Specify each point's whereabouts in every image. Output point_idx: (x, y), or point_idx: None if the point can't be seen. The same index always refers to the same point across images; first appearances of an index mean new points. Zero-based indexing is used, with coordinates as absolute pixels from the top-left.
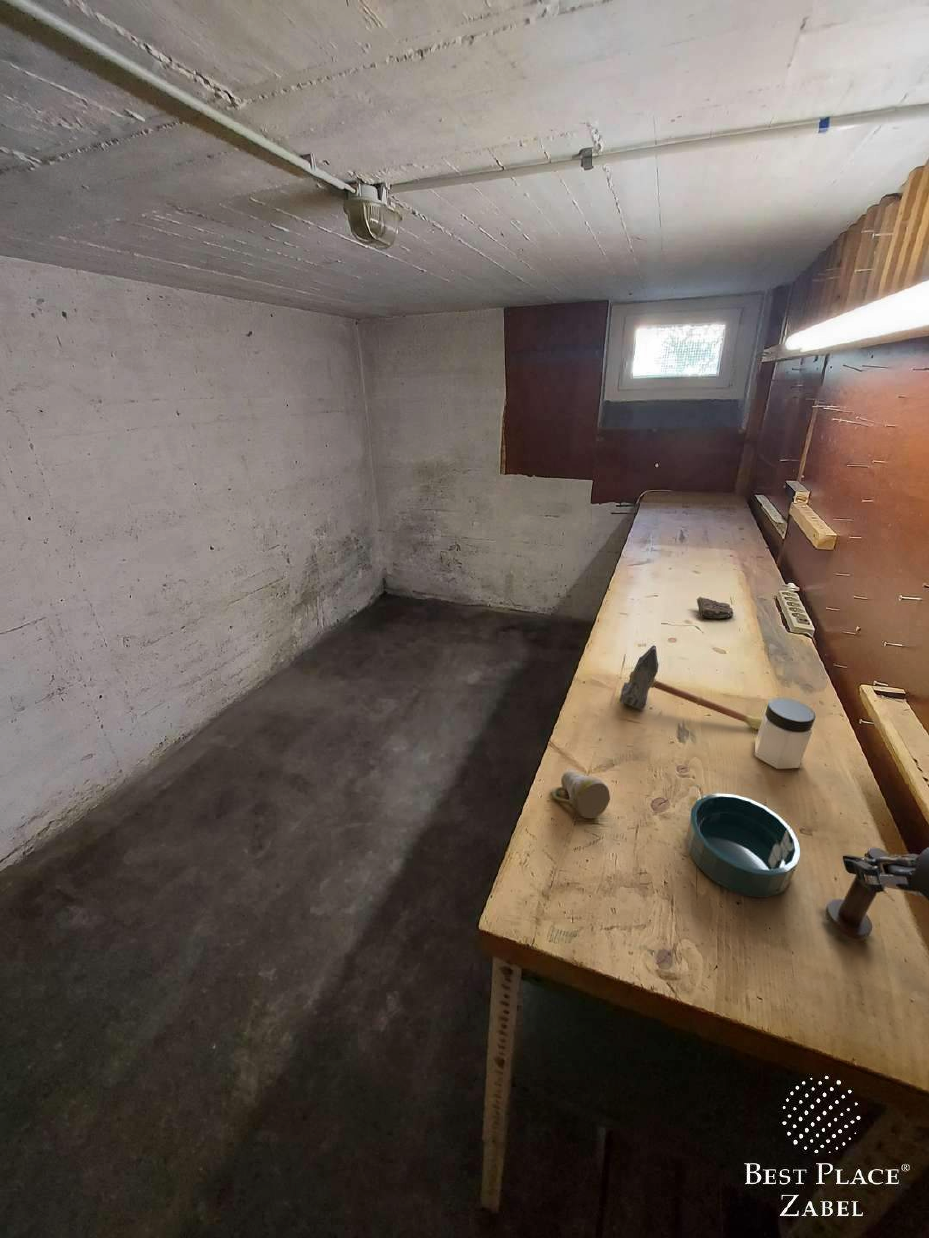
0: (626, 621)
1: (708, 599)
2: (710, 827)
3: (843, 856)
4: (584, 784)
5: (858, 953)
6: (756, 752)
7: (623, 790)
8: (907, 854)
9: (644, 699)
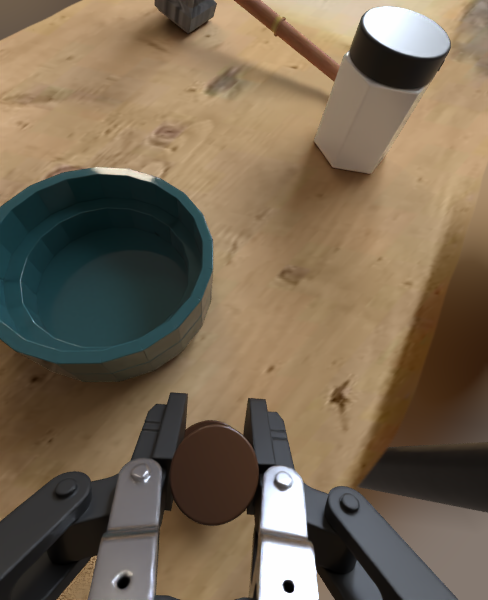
0: None
1: None
2: (111, 233)
3: (170, 394)
4: None
5: (186, 525)
6: (316, 133)
7: (23, 141)
8: (284, 549)
9: (192, 9)
